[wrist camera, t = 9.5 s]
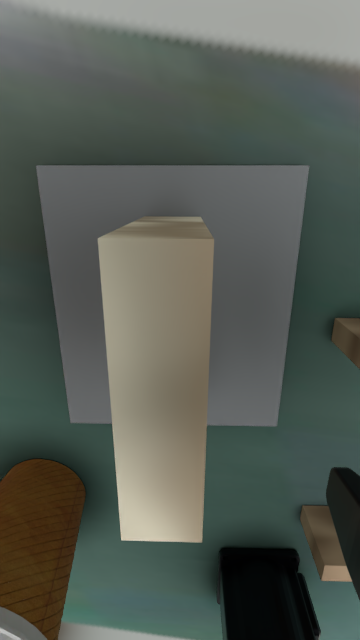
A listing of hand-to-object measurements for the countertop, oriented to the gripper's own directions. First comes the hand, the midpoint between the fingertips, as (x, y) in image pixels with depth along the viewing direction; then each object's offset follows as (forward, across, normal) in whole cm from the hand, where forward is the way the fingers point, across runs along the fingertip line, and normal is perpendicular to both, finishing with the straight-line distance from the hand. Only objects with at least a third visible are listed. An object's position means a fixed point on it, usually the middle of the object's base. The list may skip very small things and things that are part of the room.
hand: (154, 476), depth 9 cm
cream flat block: (+12, 0, 0) cm, 12 cm away
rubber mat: (+13, 0, 0) cm, 13 cm away
